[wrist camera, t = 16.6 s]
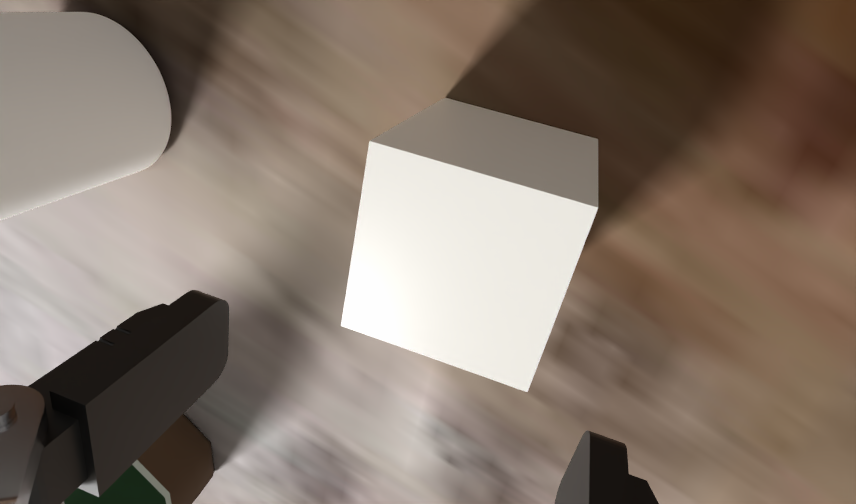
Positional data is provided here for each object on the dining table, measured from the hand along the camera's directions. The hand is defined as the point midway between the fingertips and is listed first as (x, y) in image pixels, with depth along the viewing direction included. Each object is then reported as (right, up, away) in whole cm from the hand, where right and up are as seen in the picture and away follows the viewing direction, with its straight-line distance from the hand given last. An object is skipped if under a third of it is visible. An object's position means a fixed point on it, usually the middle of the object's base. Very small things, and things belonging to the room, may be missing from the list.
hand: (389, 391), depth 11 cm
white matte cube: (+4, +6, +13) cm, 15 cm away
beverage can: (-16, +11, +17) cm, 26 cm away
